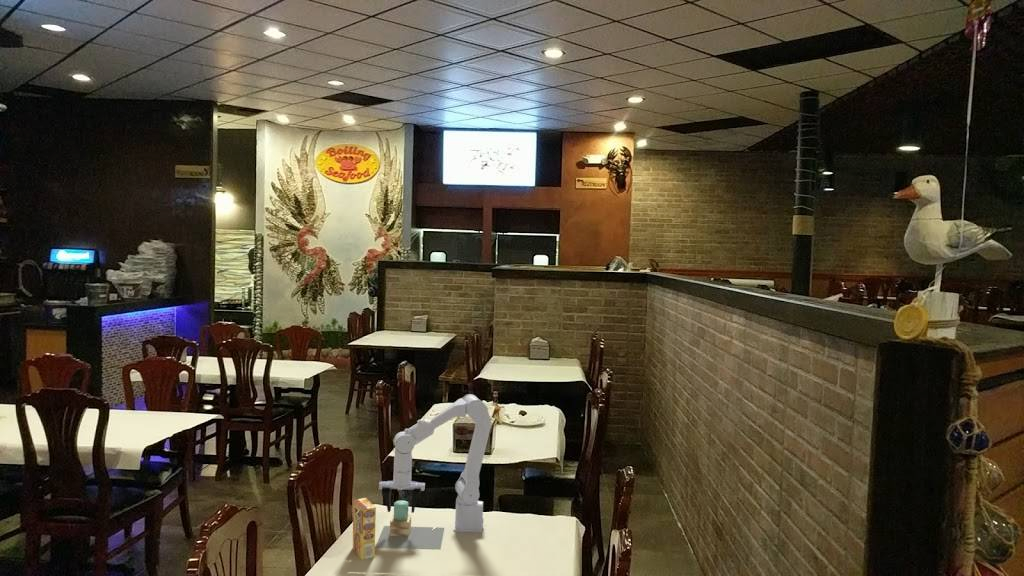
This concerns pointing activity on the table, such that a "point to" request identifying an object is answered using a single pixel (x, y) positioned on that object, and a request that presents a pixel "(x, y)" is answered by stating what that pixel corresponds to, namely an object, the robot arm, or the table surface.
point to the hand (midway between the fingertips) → (401, 511)
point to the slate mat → (412, 538)
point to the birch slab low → (400, 532)
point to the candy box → (364, 528)
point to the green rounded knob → (401, 510)
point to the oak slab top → (400, 523)
